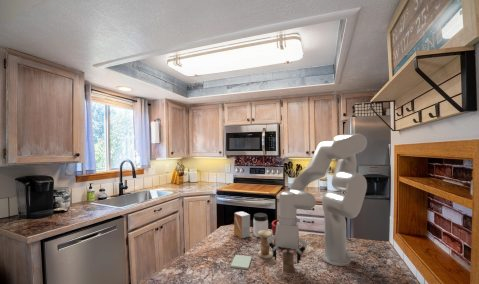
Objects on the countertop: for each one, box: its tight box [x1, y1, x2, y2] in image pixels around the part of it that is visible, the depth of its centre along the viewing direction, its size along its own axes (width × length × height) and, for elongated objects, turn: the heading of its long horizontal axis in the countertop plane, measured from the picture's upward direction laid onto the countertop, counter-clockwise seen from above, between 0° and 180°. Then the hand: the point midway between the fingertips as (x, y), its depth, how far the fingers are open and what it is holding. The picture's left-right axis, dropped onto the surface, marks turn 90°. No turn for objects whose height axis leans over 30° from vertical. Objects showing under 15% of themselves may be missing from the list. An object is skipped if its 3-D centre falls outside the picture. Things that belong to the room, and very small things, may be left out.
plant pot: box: [271, 218, 283, 249], centre depth 120 cm, size 13×13×12 cm
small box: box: [233, 211, 251, 239], centre depth 133 cm, size 8×6×13 cm
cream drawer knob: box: [257, 229, 273, 260], centre depth 108 cm, size 7×7×11 cm
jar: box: [252, 212, 269, 238], centre depth 134 cm, size 9×8×12 cm
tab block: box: [282, 248, 295, 273], centre depth 96 cm, size 4×4×8 cm
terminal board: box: [230, 254, 253, 270], centre depth 101 cm, size 8×10×1 cm
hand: (286, 260), depth 96 cm, fingers open, 9 cm apart
